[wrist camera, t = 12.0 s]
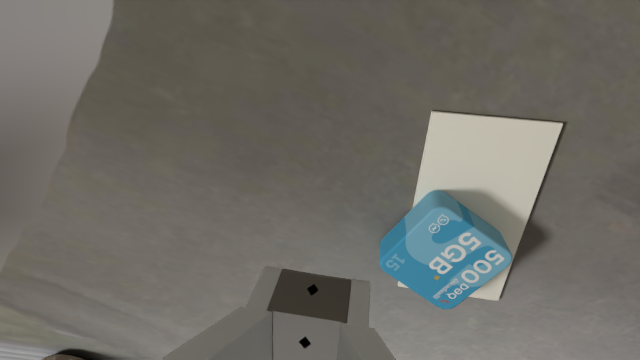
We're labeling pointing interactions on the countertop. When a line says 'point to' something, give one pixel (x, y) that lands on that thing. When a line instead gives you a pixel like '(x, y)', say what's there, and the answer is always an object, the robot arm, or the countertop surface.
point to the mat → (488, 172)
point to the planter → (62, 357)
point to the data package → (443, 250)
